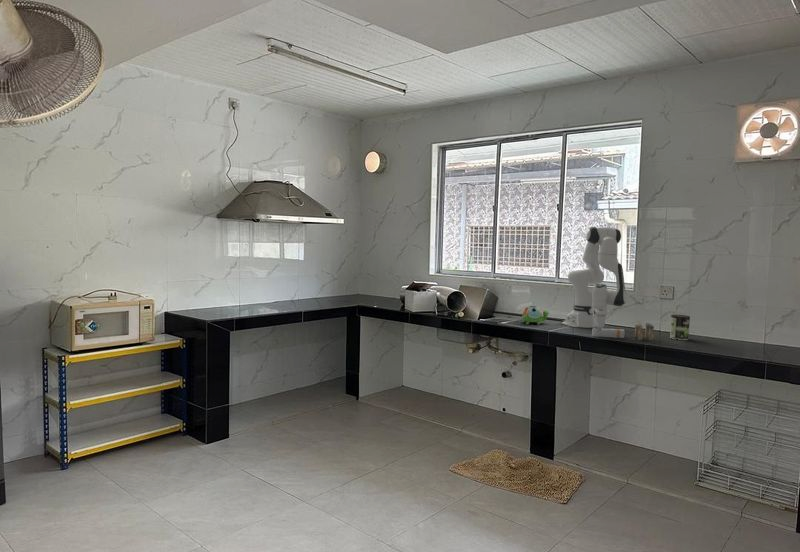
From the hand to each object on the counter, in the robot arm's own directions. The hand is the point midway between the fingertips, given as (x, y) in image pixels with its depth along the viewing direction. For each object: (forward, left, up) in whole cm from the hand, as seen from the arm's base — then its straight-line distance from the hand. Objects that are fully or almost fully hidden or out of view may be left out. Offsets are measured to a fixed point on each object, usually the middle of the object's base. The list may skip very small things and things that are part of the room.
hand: (597, 333), depth 339 cm
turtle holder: (-52, -3, -2) cm, 52 cm away
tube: (+4, +5, -2) cm, 6 cm away
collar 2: (+19, +22, -2) cm, 29 cm away
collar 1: (+15, +18, -2) cm, 23 cm away
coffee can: (+27, +40, -2) cm, 48 cm away
